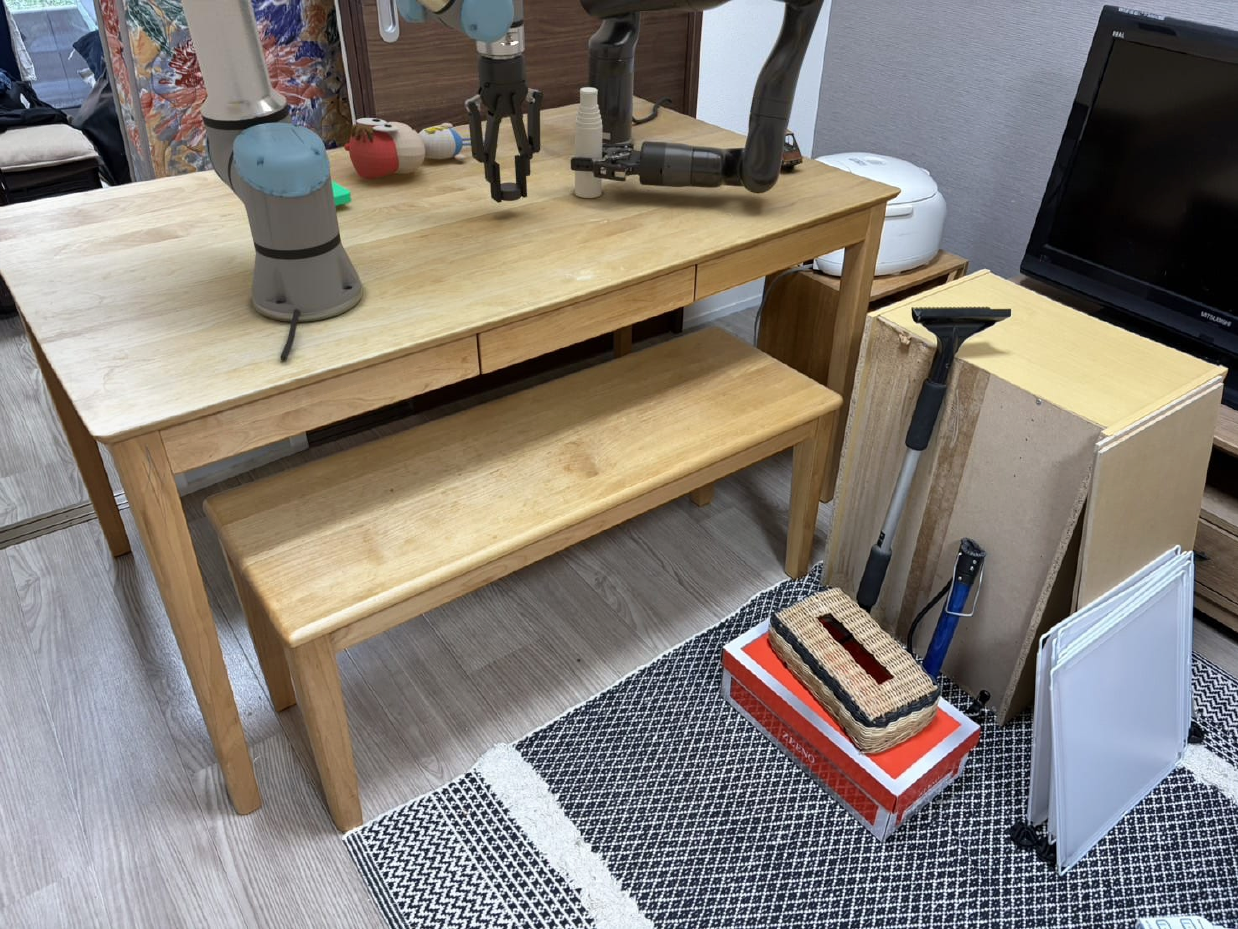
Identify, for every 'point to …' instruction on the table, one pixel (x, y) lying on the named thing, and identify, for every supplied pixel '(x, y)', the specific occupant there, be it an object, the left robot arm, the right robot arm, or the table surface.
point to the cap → (510, 191)
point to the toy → (399, 146)
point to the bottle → (588, 142)
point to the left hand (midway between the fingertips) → (509, 196)
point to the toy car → (791, 153)
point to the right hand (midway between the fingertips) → (574, 158)
